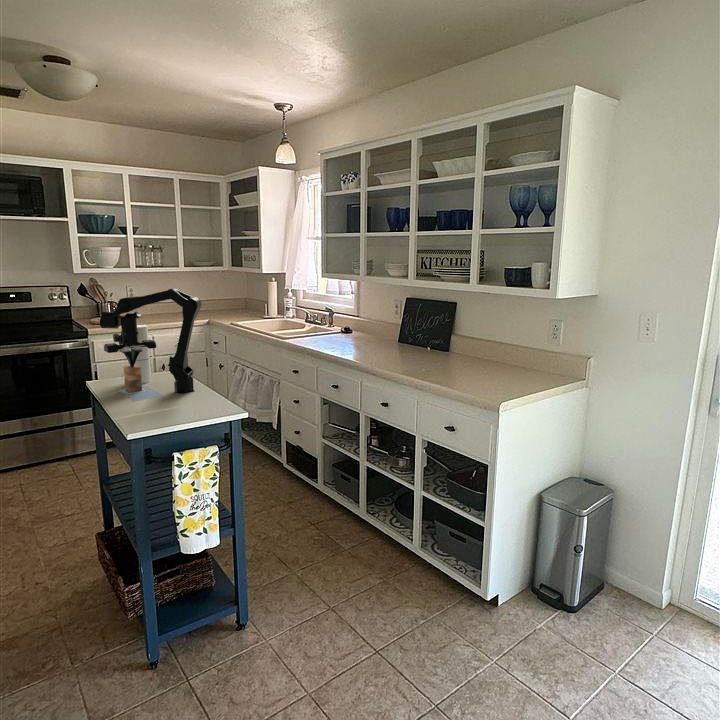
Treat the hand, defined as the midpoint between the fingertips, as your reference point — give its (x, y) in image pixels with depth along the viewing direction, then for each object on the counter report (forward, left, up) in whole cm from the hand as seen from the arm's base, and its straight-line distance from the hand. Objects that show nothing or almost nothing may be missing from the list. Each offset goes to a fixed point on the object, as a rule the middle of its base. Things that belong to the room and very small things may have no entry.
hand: (132, 367), depth 212 cm
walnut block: (0, 0, -10) cm, 10 cm away
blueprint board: (-1, +6, -11) cm, 12 cm away
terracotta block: (0, 0, -5) cm, 5 cm away
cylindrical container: (-8, -13, -11) cm, 19 cm away
